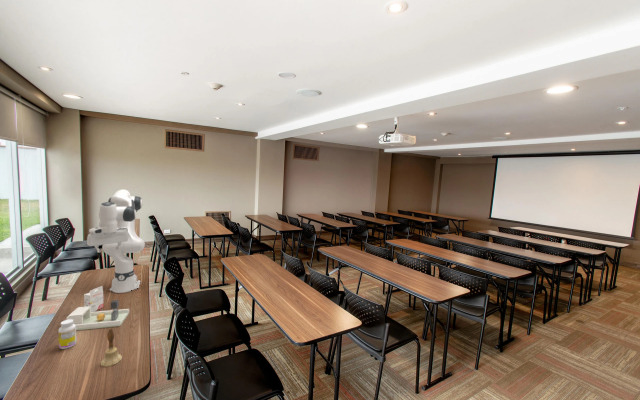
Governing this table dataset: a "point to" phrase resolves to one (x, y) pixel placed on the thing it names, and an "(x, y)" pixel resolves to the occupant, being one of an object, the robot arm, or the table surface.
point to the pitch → (95, 318)
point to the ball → (100, 316)
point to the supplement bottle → (67, 334)
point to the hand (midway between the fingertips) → (108, 250)
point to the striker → (114, 309)
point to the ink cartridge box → (94, 299)
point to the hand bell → (111, 352)
